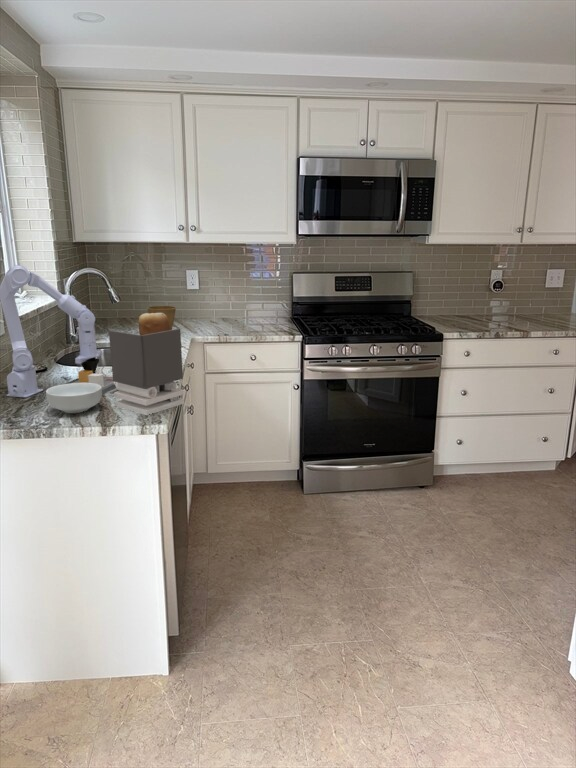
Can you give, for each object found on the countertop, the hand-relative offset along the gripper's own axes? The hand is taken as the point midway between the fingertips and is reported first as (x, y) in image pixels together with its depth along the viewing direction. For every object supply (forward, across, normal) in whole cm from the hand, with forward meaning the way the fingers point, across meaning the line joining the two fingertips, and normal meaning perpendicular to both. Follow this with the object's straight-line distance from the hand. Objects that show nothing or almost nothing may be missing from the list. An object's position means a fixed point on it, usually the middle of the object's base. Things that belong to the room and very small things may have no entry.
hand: (91, 378), depth 208 cm
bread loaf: (+3, +20, -17) cm, 26 cm away
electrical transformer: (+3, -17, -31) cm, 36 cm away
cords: (+3, +2, -2) cm, 4 cm away
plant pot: (+3, +99, +18) cm, 101 cm away
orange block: (+1, -3, 0) cm, 3 cm away
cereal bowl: (+3, -27, -11) cm, 29 cm away
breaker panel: (+3, -3, -2) cm, 4 cm away
